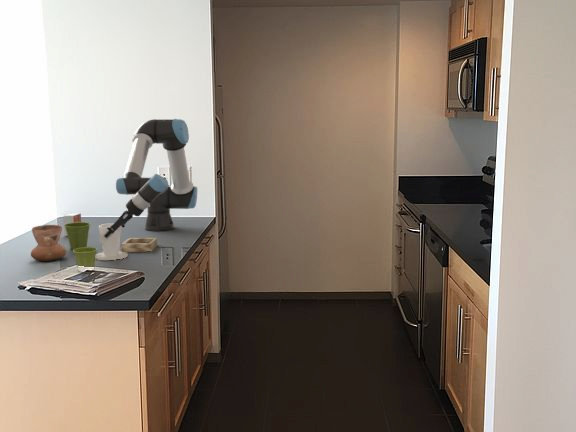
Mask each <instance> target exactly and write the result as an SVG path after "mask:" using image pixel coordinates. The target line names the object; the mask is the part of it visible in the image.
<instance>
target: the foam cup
mask: <svg viewBox="0 0 576 432" xmlns="http://www.w3.org/2000/svg"><path fill="white" fill-rule="evenodd" d="M113 224H114V223H103V224H100V225H98V233H99V237H100V238H101V237H102V235H103V234H104V233H105V232H106V231H107V230H108V229H107V228H108V227H109V228H110V227H111V226H112V225H113ZM121 227H122V226H120V227H119V228H118V229H117V230H116V231H115V232H114V233H113V234H112V236H111V237H110V238H109V239H108V240H107V241H106V242H105V243H104V244H102V243H101V246H102V252H103V253H104V256H117V255H119V251H120V250H121V249H120V246H121V236H122V235H121V232H122V228H121ZM111 229H112V228H111ZM112 230H113V229H112ZM113 231H114V230H113ZM100 238H99V239H100Z"/></svg>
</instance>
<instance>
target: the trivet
mask: <svg viewBox="0 0 576 432" xmlns="http://www.w3.org/2000/svg"><path fill="white" fill-rule="evenodd" d="M128 253H129V252H122V250H119V255H117V256H104V253H103V251H101V252H99V253H96V255H95V260H96V259H98V260H97V261H100V260H114V261H117V260H116V259H120V260H124V259H126V257H127V258H128V256H129V254H128ZM123 258H124V259H123Z"/></svg>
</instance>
